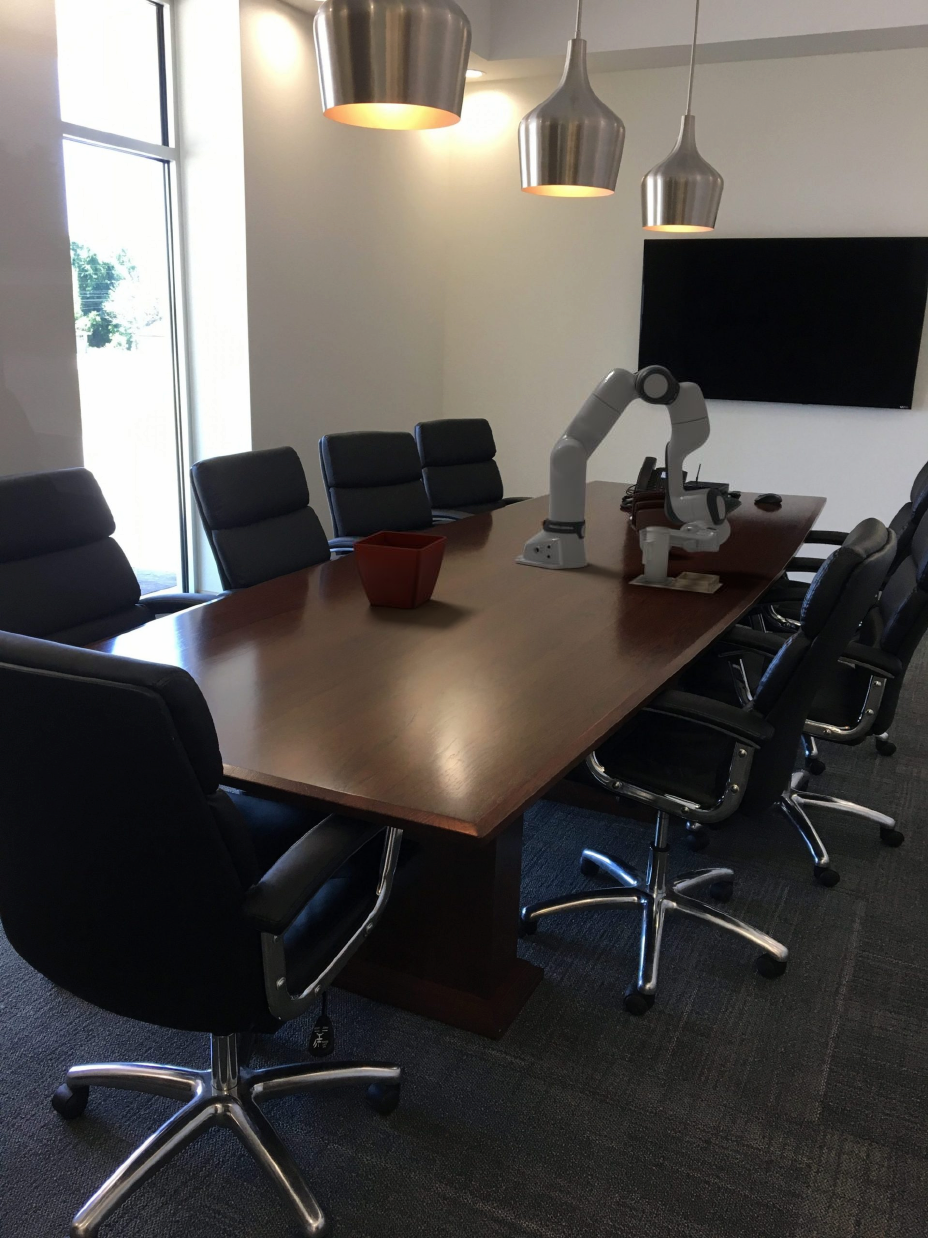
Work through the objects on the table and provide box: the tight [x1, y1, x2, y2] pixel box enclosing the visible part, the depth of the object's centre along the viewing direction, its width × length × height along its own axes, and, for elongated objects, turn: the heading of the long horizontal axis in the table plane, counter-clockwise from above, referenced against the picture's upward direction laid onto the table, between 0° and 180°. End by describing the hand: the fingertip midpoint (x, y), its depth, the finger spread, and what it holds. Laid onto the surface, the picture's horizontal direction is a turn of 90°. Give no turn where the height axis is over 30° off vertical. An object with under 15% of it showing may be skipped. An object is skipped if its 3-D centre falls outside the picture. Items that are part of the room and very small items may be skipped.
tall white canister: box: [641, 526, 671, 582], centre depth 286 cm, size 10×7×15 cm
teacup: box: [639, 529, 673, 552], centre depth 333 cm, size 14×11×8 cm
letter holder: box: [630, 490, 687, 533], centre depth 375 cm, size 10×20×14 cm, turn 90°
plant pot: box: [352, 530, 447, 610], centre depth 263 cm, size 19×19×17 cm
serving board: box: [628, 571, 723, 594], centre depth 286 cm, size 24×13×4 cm, turn 64°
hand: (668, 542), depth 290 cm, fingers open, 8 cm apart
